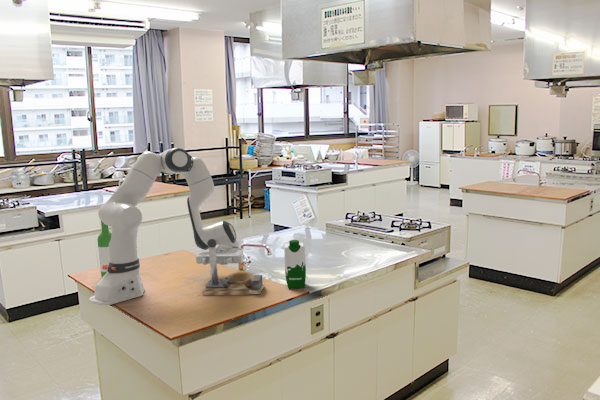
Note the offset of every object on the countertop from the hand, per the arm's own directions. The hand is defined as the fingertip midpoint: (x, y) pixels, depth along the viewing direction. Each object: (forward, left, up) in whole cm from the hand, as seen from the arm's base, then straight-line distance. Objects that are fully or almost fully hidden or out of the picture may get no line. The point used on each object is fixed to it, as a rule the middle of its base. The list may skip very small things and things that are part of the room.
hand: (214, 262), depth 209 cm
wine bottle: (-11, +60, -12) cm, 62 cm away
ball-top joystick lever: (-2, -3, -10) cm, 10 cm away
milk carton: (+18, -28, -12) cm, 36 cm away
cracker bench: (+1, -8, -11) cm, 14 cm away
